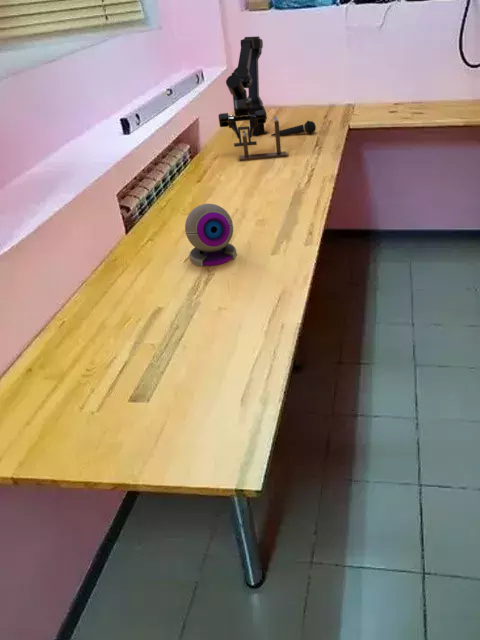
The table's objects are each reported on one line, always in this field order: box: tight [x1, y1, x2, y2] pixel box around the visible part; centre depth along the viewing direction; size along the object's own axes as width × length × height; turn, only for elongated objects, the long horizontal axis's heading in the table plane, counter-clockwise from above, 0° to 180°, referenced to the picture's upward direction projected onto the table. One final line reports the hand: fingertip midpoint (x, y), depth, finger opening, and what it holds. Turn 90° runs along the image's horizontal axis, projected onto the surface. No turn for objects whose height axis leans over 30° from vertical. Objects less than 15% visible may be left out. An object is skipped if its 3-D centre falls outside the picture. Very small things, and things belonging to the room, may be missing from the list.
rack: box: [238, 115, 288, 162], centre depth 246 cm, size 8×19×14 cm, turn 96°
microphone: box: [270, 120, 317, 137], centre depth 273 cm, size 6×6×20 cm
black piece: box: [233, 125, 258, 148], centre depth 247 cm, size 2×9×7 cm, turn 96°
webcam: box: [184, 203, 238, 267], centre depth 169 cm, size 13×13×15 cm
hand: (244, 137), depth 246 cm, fingers closed on black piece, 4 cm apart
